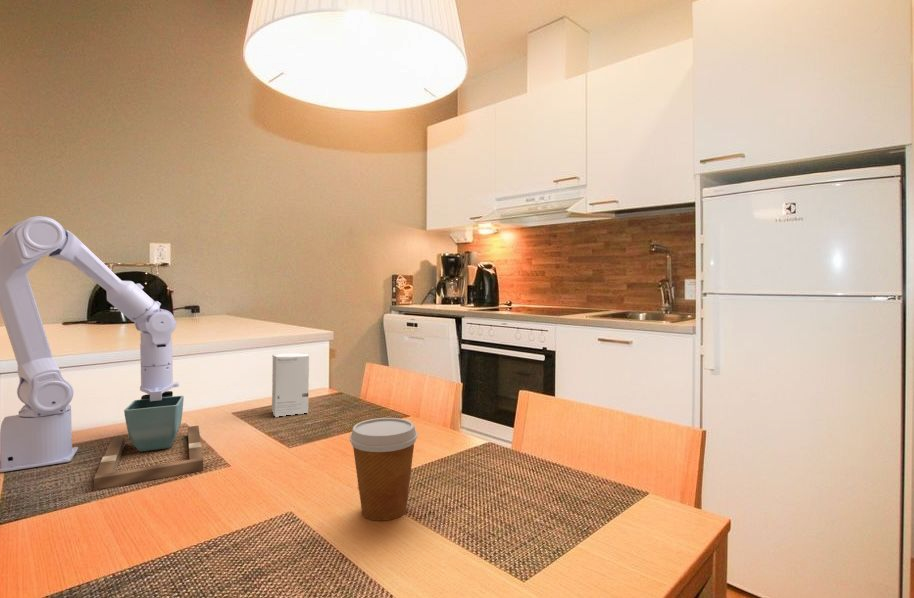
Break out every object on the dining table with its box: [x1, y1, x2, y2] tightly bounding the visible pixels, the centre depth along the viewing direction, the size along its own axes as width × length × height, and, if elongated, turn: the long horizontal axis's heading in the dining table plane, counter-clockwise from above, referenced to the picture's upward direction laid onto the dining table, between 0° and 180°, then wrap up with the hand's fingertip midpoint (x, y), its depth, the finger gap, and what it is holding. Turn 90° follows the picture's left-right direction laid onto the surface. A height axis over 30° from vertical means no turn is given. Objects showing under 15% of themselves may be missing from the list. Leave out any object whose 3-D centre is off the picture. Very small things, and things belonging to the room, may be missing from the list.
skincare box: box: [271, 353, 310, 418], centre depth 117 cm, size 8×6×15 cm
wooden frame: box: [93, 425, 204, 491], centre depth 86 cm, size 15×24×2 cm, turn 31°
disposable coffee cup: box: [348, 417, 419, 522], centre depth 66 cm, size 10×10×12 cm
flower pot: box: [123, 395, 185, 453], centre depth 92 cm, size 9×9×9 cm
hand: (157, 427), depth 100 cm, fingers closed
